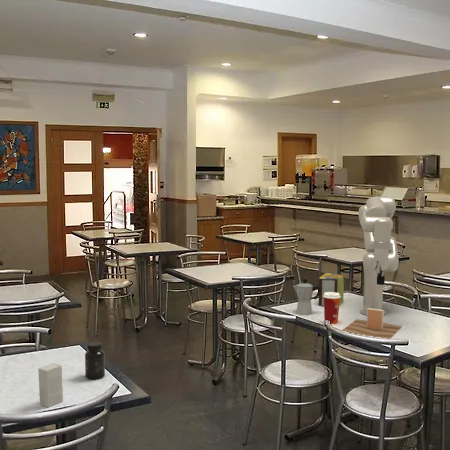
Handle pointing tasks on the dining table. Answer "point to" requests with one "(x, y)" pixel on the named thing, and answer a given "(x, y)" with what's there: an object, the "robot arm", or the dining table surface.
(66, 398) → the dining table surface
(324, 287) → the protein box
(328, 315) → the coffee cup
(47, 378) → the skincare box
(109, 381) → the dining table surface
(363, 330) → the board
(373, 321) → the tile
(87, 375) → the supplement bottle
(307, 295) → the coffee maker
